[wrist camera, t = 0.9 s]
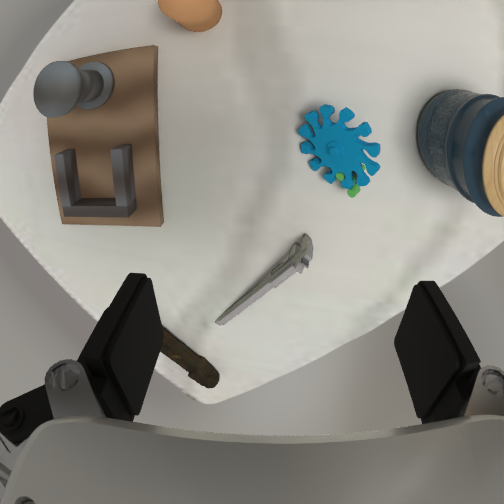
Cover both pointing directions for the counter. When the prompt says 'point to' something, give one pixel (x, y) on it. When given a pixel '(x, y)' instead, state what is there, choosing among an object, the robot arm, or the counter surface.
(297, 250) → the caliper
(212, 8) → the tan oval solid
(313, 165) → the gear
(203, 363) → the hand tool
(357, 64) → the counter surface
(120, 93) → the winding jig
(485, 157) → the canister
